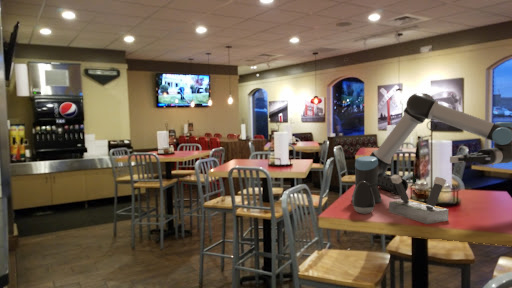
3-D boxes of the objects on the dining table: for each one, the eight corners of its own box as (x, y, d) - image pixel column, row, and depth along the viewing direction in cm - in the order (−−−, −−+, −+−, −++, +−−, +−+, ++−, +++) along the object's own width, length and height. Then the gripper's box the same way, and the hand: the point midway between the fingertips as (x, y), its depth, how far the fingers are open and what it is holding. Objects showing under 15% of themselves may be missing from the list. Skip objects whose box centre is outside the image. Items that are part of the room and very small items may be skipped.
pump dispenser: (371, 216, 177) (371, 183, 176) (349, 213, 183) (349, 181, 182) (377, 211, 186) (378, 180, 185) (356, 209, 191) (356, 178, 190)
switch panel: (389, 212, 184) (389, 201, 184) (408, 209, 189) (408, 198, 188) (426, 224, 163) (427, 211, 163) (448, 220, 167) (448, 208, 167)
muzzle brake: (392, 196, 219) (392, 178, 218) (371, 187, 247) (371, 171, 246) (408, 195, 220) (408, 177, 220) (385, 186, 248) (385, 170, 247)
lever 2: (423, 206, 170) (435, 176, 172) (427, 208, 171) (439, 179, 173) (430, 208, 167) (442, 177, 168) (434, 210, 168) (446, 180, 169)
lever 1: (401, 202, 183) (390, 177, 180) (405, 199, 184) (394, 174, 181) (407, 204, 180) (395, 178, 177) (411, 201, 181) (399, 175, 177)
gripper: (502, 165, 175) (463, 169, 166) (476, 163, 187) (439, 166, 178) (502, 149, 175) (464, 152, 166) (476, 147, 187) (439, 150, 178)
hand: (451, 159), depth 172 cm, fingers closed
